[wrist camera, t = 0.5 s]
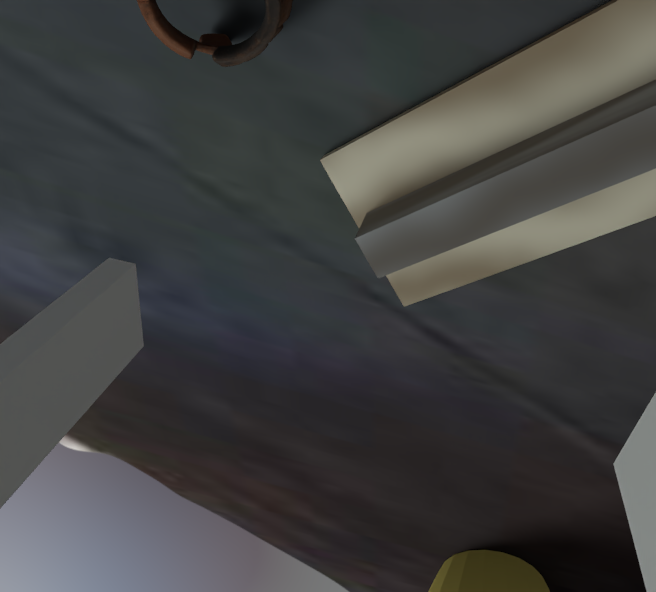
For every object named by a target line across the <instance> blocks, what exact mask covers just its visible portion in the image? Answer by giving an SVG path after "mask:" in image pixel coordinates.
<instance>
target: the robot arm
mask: <svg viewBox="0 0 656 592" xmlns="http://www.w3.org/2000/svg"><path fill="white" fill-rule="evenodd" d="M143 346H144V344H143V334H142V324H141V314H140V304H139V294H138V284H137V274H136V264H134V263H129V262H125V261H120V260H116V259H112V258H108V259H107V260H106V261H105V262H103V263H102V264H101V265H99V266H98V267H97V268H96V269H94V270H93V271H92V272H91V273H89V274H88V275H87V276H86V277H84V278H83V279H82V280H81V281H79V282H78V283H77V284H76V285H74V286H73V287H72V288H71V289H69V290H68V291H67V292H65V293H64V294H63V295H62V296H60V297H59V298H58V299H57V300H55V301H54V302H53V303H52V304H50V305H49V306H48V307H47V308H45V309H44V310H43V311H42V312H40V313H39V314H38V315H36V316H35V317H34V318H33V319H31V320H30V321H29V322H28V323H26V324H25V325H24V326H23V327H21V328H20V329H19V330H18V331H16V332H15V333H14V334H13V335H11V336H10V337H9V338H7V339H6V340H5V341H4V342H2V343H1V344H0V508H1V507H2V506H3V505H4V504H5V503H6V501H7V500H8V499H9V498H10V497H11V496H12V495H13V493H14V492H15V491H16V490H17V489H18V488H19V487H20V486H21V484H22V483H23V482H24V481H25V480H26V478H27V477H28V476H29V475H30V474H31V473H32V472H33V471H34V469H36V467H37V466H38V465H39V464H40V463H41V462H42V460H43V459H44V458H45V457H46V456H47V455H48V454H49V453H50V452H51V450H52V449H53V448H54V447H55V446H56V444H58V442H59V441H60V440H61V439H62V438H63V437H64V436H65V435H66V433H67V432H68V431H69V430H70V429H71V428H72V427H73V425H74V424H75V423H76V422H77V421H78V420H79V419H80V418H81V416H82V415H83V414H84V413H85V412H86V411H87V410H88V408H89V407H90V406H91V405H92V404H93V403H94V402H95V401H96V399H97V398H98V397H99V396H100V395H101V394H102V393H103V391H104V390H105V389H106V388H107V387H108V386H109V385H110V384H111V382H112V381H113V380H114V379H115V378H116V377H117V376H118V374H119V373H120V372H121V371H122V370H123V369H124V368H125V367H126V365H127V364H128V363H129V362H130V361H131V360H132V359H133V357H134V356H135V355H136V354H137V353H138V352H139V351H140V350H141V348H142V347H143ZM614 468H615V472H616V475H617V479H618V483H619V487H620V491H621V495H622V499H623V502H624V506H625V510H626V514H627V518H628V522H629V526H630V529H631V533H632V537H633V541H634V545H635V549H636V552H637V556H638V560H639V564H640V568H641V572H642V576H643V579H644V583H645V587H646V591H647V592H656V393H655V394H654V396H653V398H652V399H651V401H650V403H649V404H648V406H647V408H646V410H645V411H644V413H643V415H642V416H641V418H640V420H639V421H638V423H637V425H636V426H635V428H634V430H633V432H632V433H631V435H630V437H629V438H628V440H627V442H626V443H625V445H624V447H623V448H622V450H621V452H620V454H619V455H618V457H617V459H616V460H615V462H614Z"/></svg>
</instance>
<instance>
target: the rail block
mask: <svg viewBox="0 0 656 592" xmlns="http://www.w3.org/2000/svg"><path fill="white" fill-rule="evenodd" d="M320 161H321V163H322V165H323V166H324V168H325V170H326V172H327V173H328V175H329V177H330V179H331V180H332V182H333V184H334V186H335V187H336V189H337V191H338V193H339V194H340V196H341V198H342V199H343V201H344V203H345V205H346V206H347V208H348V210H349V212H350V213H351V215H352V217H353V219H354V220H355V222H356V224H357V226H358V227H359V231H358V233H357V235H356V237H355V240H356V241H357V243H358V245H359V247H360V248H361V250H362V252H363V253H364V255H365V257H366V259H367V260H368V262H369V264H370V265H371V267H372V269H373V271H374V272H375V274H376V276H377V277H378V278H381V277H383V276H387V278H388V280H389V281H390V283H391V285H392V287H393V288H394V290H395V292H396V293H397V295H398V297H399V299H400V300H401V302H402V304H403V306H407V305H410V304H413V303H416V302H418V301H421V300H424V299H427V298H429V297H432V296H435V295H438V294H440V293H443V292H446V291H449V290H452V289H454V288H457V287H460V286H463V285H465V284H468V283H471V282H474V281H476V280H479V279H482V278H485V277H488V276H490V275H493V274H496V273H499V272H501V271H504V270H507V269H510V268H513V267H515V266H518V265H521V264H524V263H526V262H529V261H532V260H535V259H537V258H540V257H543V256H546V255H549V254H551V253H554V252H557V251H560V250H562V249H565V248H568V247H571V246H573V245H576V244H579V243H582V242H585V241H587V240H590V239H593V238H596V237H598V236H601V235H604V234H607V233H609V232H612V231H615V230H618V229H621V228H623V227H626V226H629V225H632V224H634V223H637V222H640V221H643V220H645V219H648V218H651V217H654V216H656V0H612V1H610V2H608V3H606V4H604V5H602V6H601V7H599V8H597V9H595V10H593V11H591V12H589V13H588V14H586V15H584V16H582V17H580V18H578V19H576V20H575V21H573V22H571V23H569V24H567V25H565V26H563V27H562V28H560V29H558V30H556V31H554V32H552V33H550V34H549V35H547V36H545V37H543V38H541V39H539V40H537V41H536V42H534V43H532V44H530V45H528V46H526V47H524V48H523V49H521V50H519V51H517V52H515V53H513V54H511V55H510V56H508V57H506V58H504V59H502V60H500V61H498V62H497V63H495V64H493V65H491V66H489V67H487V68H485V69H484V70H482V71H480V72H478V73H476V74H474V75H472V76H471V77H469V78H467V79H465V80H463V81H461V82H459V83H458V84H456V85H454V86H452V87H450V88H448V89H446V90H445V91H443V92H441V93H439V94H437V95H435V96H433V97H432V98H430V99H428V100H426V101H424V102H422V103H420V104H419V105H417V106H415V107H413V108H411V109H409V110H407V111H406V112H404V113H402V114H400V115H398V116H396V117H394V118H393V119H391V120H389V121H387V122H385V123H383V124H381V125H380V126H378V127H376V128H374V129H372V130H370V131H368V132H366V133H365V134H363V135H361V136H359V137H357V138H355V139H353V140H352V141H350V142H348V143H346V144H344V145H342V146H340V147H339V148H337V149H335V150H333V151H331V152H329V153H327V154H326V155H324V156H323V157H322V158H321V159H320Z"/></svg>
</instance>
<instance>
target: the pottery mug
mask: <svg viewBox="0 0 656 592" xmlns="http://www.w3.org/2000/svg"><path fill="white" fill-rule="evenodd" d="M292 1H293V0H265V5H266V13H265V17H264V20H263V23H262V25H261V27H260V28H259V30H258V31H257V32H256V33H254V34H253V35H252V36H251V37H250V38H248V39H247V40H245V41H243V42H241V43H239V44H235V45H232V43H231V41H230V39H229V37H228V36H227V35H225V34H204V35H201V37H200V40H199V42H198V41H196V40H194V39H192V38H190V37H188V36H186V35H185V34H183V33H181V32H180V31H179V30H177V29H176V28H175V27H173V26H172V25H171V24H170V23H169V22H168V21H167V19H166V18H165V17H164V15H163V14H162V13H161V11H160V9H159V7H158V5H157V3H156V0H137V2H138V5H139V8H140V10H141V13H142V15H143V16H144V18H145V21H146V22H147V24H148V26H149V27H150V29H151V30H152V31H153V33H154V34H155V35H156V36H157V37H158V38H159V39H160V40H161V41H162V42H163V43H164V44H165V45H166V46H168V47H169V48H170V49H171V50H173V51H175V52H176V53H178V54H179V55H181V56H183V57H185V58H188V59H191V58H192V57H193V55H194V51H195V50H198V51H201V52H204V53H207V54H211V55H212V58H213V60H214V61H215V62H216V63H218V64H219V65H221V66H223V67H224V66H225V67H228V66H234V65H238V64H241V63H243V62H246V61H249V60H251V59H253V58H255V57H256V56H258V55H259V54H260V53H261V52H262V51H264V49H265V48H266V47H267V46H268V43H269V42H271V41H272V39H273V38H274V37H275V36H276V35H277V34H278V33H279V32H280V31H281V30H282V28H283V23H284V22H285V21H286V20H287V19H288V17H289V15H290V12H291V8H292Z"/></svg>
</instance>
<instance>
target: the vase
mask: <svg viewBox="0 0 656 592" xmlns="http://www.w3.org/2000/svg"><path fill="white" fill-rule="evenodd" d="M429 592H550V590H549V588H548V586H547V584H546V582H545V581H544V579H543V577H542V575H541V574H540V573H539V572H538V571H537V570H536V569H535V568H534V567H533V566H532V565H530V564H528V563H527V562H525V561H523V560H522V559H520V558H518V557H515V556H512V555H509V554H506V553H503V552H498V551H491V550H468V551H465V552H461V553H458V554H455V555H453V556H452V557H450V558H449V559H447V560H446V561H445V562H444V564H443V565H442V567H441V569H440V570H439V572H438V574H437V576H436V578H435V580H434V582H433V584H432V585H431V587H430V589H429Z"/></svg>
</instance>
